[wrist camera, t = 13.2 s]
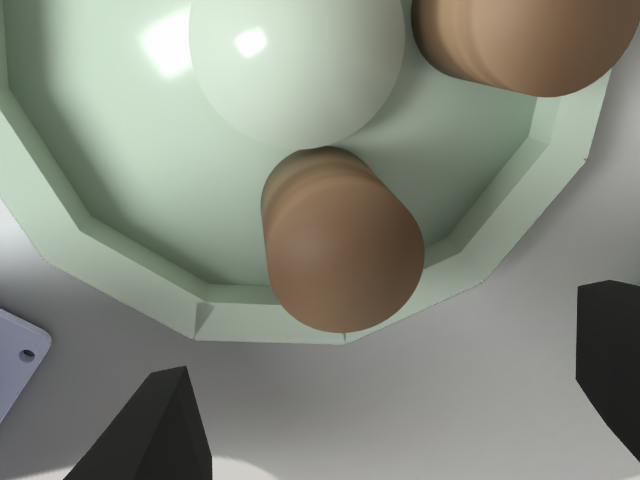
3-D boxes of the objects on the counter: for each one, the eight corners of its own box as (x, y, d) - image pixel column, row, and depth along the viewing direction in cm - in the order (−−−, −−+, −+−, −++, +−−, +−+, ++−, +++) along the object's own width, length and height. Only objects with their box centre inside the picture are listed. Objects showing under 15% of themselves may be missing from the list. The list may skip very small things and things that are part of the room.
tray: (347, 389, 23) (359, 428, 21) (-151, 112, 17) (-210, 125, 15) (689, -26, 19) (750, -33, 17) (193, -578, 13) (183, -704, 11)
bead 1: (388, 244, 20) (434, 311, 15) (276, 272, 19) (287, 349, 15) (368, 132, 18) (412, 168, 14) (247, 161, 18) (249, 207, 13)
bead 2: (397, 67, 18) (455, 81, 13) (429, -76, 16) (505, -117, 12) (514, 89, 18) (608, 110, 14) (553, -45, 17) (671, -73, 12)
